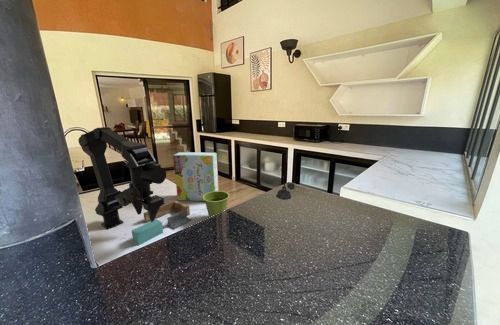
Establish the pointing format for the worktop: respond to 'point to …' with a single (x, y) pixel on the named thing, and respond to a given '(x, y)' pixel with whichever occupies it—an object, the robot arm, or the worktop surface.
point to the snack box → (195, 175)
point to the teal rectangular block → (147, 232)
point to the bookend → (178, 219)
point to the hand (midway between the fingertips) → (145, 217)
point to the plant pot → (216, 202)
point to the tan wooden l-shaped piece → (168, 209)
